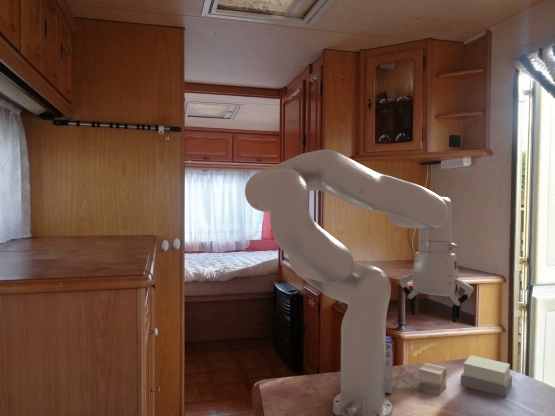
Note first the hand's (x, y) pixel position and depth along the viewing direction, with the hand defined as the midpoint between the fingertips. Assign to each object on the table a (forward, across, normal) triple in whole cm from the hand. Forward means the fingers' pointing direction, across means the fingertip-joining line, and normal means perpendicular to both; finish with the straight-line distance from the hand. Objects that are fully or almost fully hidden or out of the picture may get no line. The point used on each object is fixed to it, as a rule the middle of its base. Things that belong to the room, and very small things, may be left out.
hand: (434, 317), depth 101 cm
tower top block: (+15, -10, -9) cm, 20 cm away
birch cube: (+17, 0, +1) cm, 17 cm away
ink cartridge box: (+17, +12, +10) cm, 23 cm away
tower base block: (+18, -10, -9) cm, 23 cm away
